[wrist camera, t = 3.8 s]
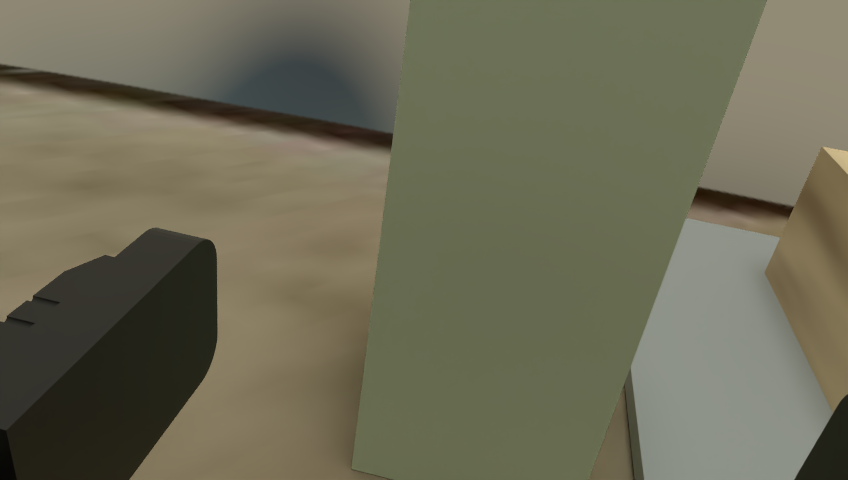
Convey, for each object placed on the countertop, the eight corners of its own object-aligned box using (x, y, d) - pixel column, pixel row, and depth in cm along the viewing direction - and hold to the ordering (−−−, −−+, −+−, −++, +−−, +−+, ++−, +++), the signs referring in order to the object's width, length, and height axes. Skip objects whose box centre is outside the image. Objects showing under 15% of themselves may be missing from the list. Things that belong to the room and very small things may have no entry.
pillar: (351, 469, 15) (426, -131, 10) (399, 339, 20) (472, -129, 14) (571, 525, 15) (793, -71, 9) (571, 379, 19) (721, -87, 13)
